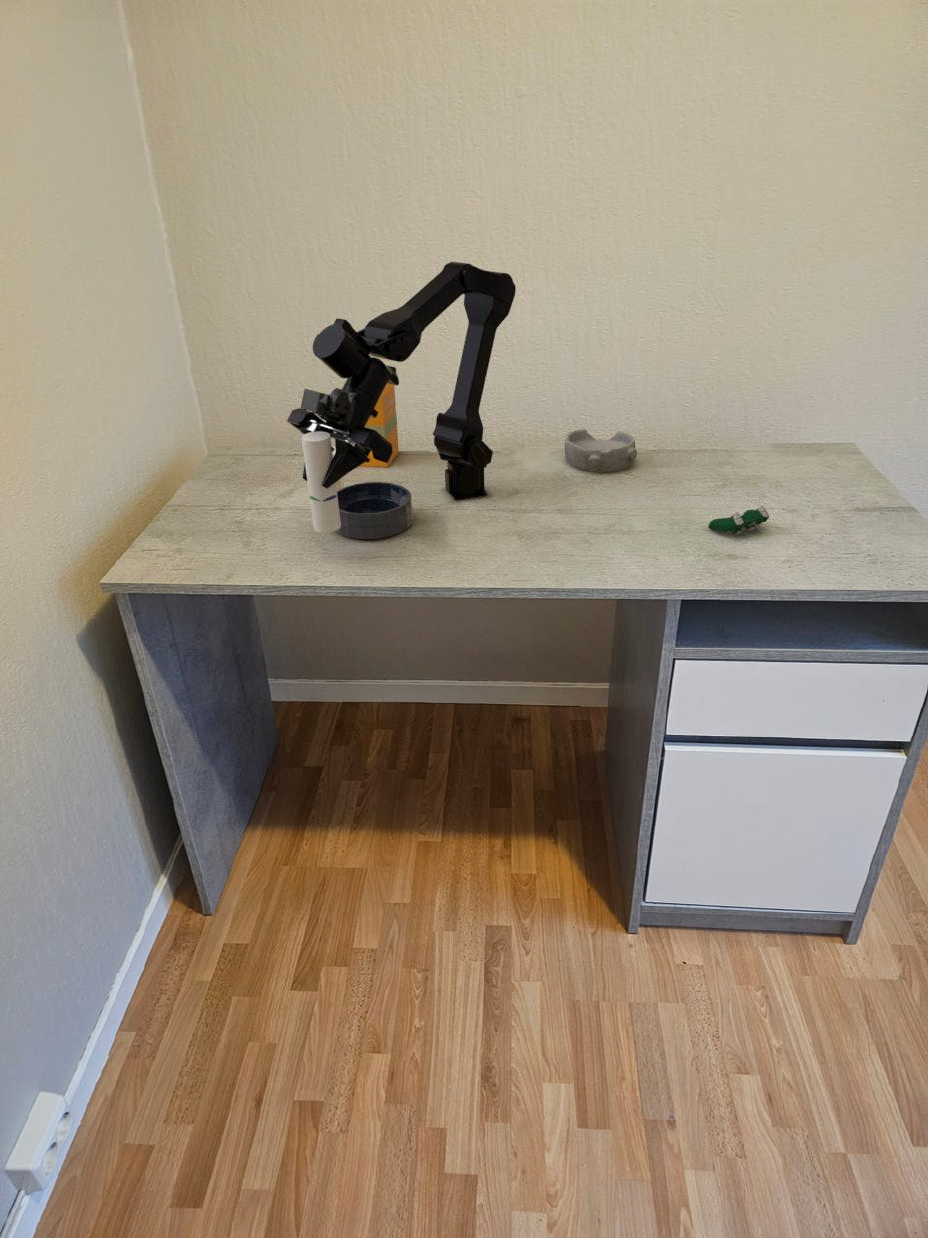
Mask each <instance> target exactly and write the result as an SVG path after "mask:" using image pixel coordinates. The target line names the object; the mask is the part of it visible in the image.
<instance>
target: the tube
mask: <svg viewBox="0 0 928 1238" xmlns="http://www.w3.org/2000/svg"><path fill="white" fill-rule="evenodd" d="M331 439H332V438H330V434H329V433H327V432H310V433H307V434H302V435H301V444H302V451H303V452H302V453H303V459H304V463H305V467H306V474H307V481H306V482H307V488H308V495H309V503H310V510H311V517H312V524H313V530H314V531H315V532H317V533H323V534H326V533H328V534H329V533H332V532H337V531H336V530H338V529H339V528H340V527H341V521H340V513H339V505H338V496H337V488H336V482H335V483H334V484H333V485H331V486H330V487H329V488H325V487H323V486H322V483H323V480H324V477H325V475H326V472H327V470H328V468H329V466H330V464H331V462H332V459H333V455H332V447H333V446H332V440H331Z"/></svg>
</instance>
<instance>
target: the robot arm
mask: <svg viewBox="0 0 928 1238" xmlns="http://www.w3.org/2000/svg"><path fill="white" fill-rule="evenodd" d="M516 289H517V288H516V284H515V282H514V280H513V277H512V275H511V274H509V273H507V272H501V271H500V272H499V271H492V270H485V269H482V268H479V267H478V266H475V265H473V264H471V263H467V262H458V261H450V262H448V263H445V264H444V266H443V268H442V270H441V271H440V272H439V273H438V274H436V275H435V276H434V277H433V278H432V279H431V280H429V282H428V283H426V285H424V286H423V287H422V288H421V289H419V291H418V292H416V293H415V294H414V295H413V296H411V298H410V299H409V300H407V301H406V302H405V303H404V304H403V305H402V306H399V307H398V308H396V309H392V310H388V311H385V312H383V313H381V314H379V315H378V316H376V317H374V318H373V319H371V320H369V321H368V323H367V324H365V326H364V328H362V329H360V330H358V331H357V330H355V329H354V327H353V325H352V324H351V323H350V322H349V321H348V320H347V319H344V318H335V320H334V322H333V323H332V324H330V325H328V326H326V327H324V329H323V330H321V331H320V333H317V335H316V336H315V337H314V340H313V342H312V352H313V355H314V356H315V357H316V358H317V359H319V361H321V362H322V363H323V364H324V365H325V366H326V367H327V368H328V369H329V370H331V371H332V372H333V373H334V374H335V375H337V376H338V377H339V378H340V379H346V380H345V382H344V384H343V386H342V388H338V387H335V388H334V389H332V391H331V393H329V394H328V393H325V392H324V393H323V392H319V391H317V390H312V389H308V388H304V390H303V394H302V395H303V396H302V399H301V403H300V407H299V408H295V409H292V410H291V412H290V415H289V416H288V418H287V419H286V422H287V423H288V424H290V425H291V426H292V427H294V428H295V429H296V430H298V431H299V432H300V433H301V434H302V435H304V434H307V433H310V432H327V433H329V434H330V438H331V439H334V443H335V445H334V446H332V452H333V451H334V448H333V447H336V452H335V455H334V457H333V459H332V462H331V464H330V466H329V468H328V470H327V472H326V475H325V477H324V480H323V483H322V486H323V487H325V488H329V487H330V486H331V485H333V484H334V483H335V482H337V481H338V480H339V479H341V478H342V477H343V476H344V477H345V476H347V475H348V474H349V473H350V472H352V471H354V470H355V469H357V468H359V467H360V465H361V464H363V463H364V462H369V461H370V459H369V458H368V456H369V454H370V452H371V451H372V453H373V458H374V459H376V460H379V461H382V462H385V463H388V461H389V459H390V457H391V455H392V453H393V450H392V444H391V443H390V442H389V441H387V440H386V439H385V438H384V437H383V436H381V435H380V434H379V433H378V432H377V431H376V430H372V429H369V428H365V426H366V424H367V422H368V420H369V418H370V417H373V418H376V417H377V415H378V413H379V412H378V411H376V410H375V409H374V408H375V406H376V404H377V402H378V400H379V398H380V396H381V394H382V393H383V391H384V389H385V387H386V385H387V383H389V384H393V385H394V386H399V385H400V379H399V376H398V374H397V367H396V366H391V365H386V363H385V362H384V361H382V360H383V359H384V360H388V361H393V362H397V363H402V362H405V361H407V360H408V359H409V358H410V357H411V355H412V354H413V352H415V350H416V349H417V348H418V346H419V345H420V343H421V340H422V334H423V332H424V331H425V330H426V328H428V326H430V325H431V324H432V323H433V322H434V321H435V320H436V319H437V318H438V317H440V316H441V315H442V313H444V312H445V311H446V310H447V309H448V308H450V306H452V304H454V303H455V302H456V301H457V300H458V299H459V298H460V297H461V296H463V295H464V297H463V306H464V310H465V313H466V317H467V321H468V323H467V330H466V334H465V339H464V344H463V347H462V353H461V357H460V363H459V368H458V372H457V375H456V376H457V377H456V382H455V387H454V390H453V396H452V401H451V405H450V406H449V407H448V408H447V410H446V411H445V412H438V414H437V416H436V420H435V427H434V430H433V432H432V436H434V437H433V445H434V446H435V448H436V450H437V454H438V455H439V460H440V461H446V463H447V468H445V469H444V483H445V484H444V485H445V486H444V487H445V491H446V492H447V494H448V495H450V497H452V499H453V500H454V501H462V500H469V499H476V498H483V497H487V496H489V495H488V491H487V490H486V489H485V468H487V467H488V465H489V464H491V463H492V459H493V454H494V452H493V450H492V449H491V448H490V447H489V446H488V444H487V443H485V442H484V441H483V435H484V425H483V422H482V418H481V415H480V407H481V402H482V398H483V393H484V388H485V384H486V379H487V375H488V371H489V370H488V369H489V365H490V362H491V361H490V360H491V356H492V351H493V347H494V342H495V339H496V338H495V337H496V333H497V331H498V330H497V329H498V328H499V326H501V324H502V323H503V322H504V321H505V319H506V318H507V317H508V316H509V314H510V311H511V308H512V305H513V302H514V300H515V296H516V291H517V290H516ZM372 357H375V358H372ZM381 359H382V360H381ZM302 479H303V480H304V481H305V482H308V481H307V474H306V467H305V462H304V463H303V470H302Z"/></svg>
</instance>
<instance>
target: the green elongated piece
mask: <svg viewBox="0 0 928 1238" xmlns="http://www.w3.org/2000/svg"><path fill="white" fill-rule="evenodd" d="M769 519H770V513H769V512H768V511H767V509H766V507H765V506H764V505H760V506H759V507H758V508H756V509H747V510H745V511H744V512H743V514H740V512H738V511H736V512H734V514H733V515H732V516H729V517H721V518H715V519H712V520H711V521H710V522H709V523H708V526H707V528H708V529H709V530H711V531H715V532H719V533H731V532H732V533H733V534H735V535H740V534H741V533H742V532H743V529H746V530H748V531H749V532H751V531H753V530H755V528H756V526H758V525H762V523H765V522H766V523H767V520H769Z"/></svg>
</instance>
